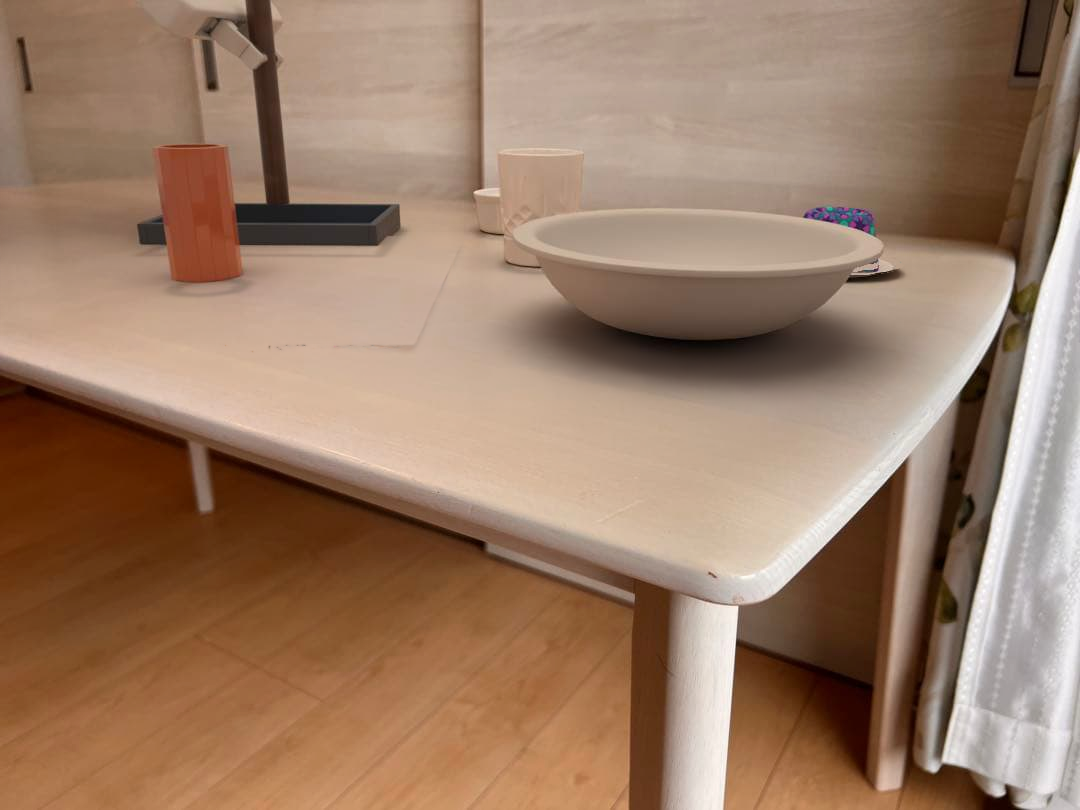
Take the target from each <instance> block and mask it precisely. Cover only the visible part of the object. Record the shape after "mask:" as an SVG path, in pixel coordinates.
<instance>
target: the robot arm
mask: <svg viewBox="0 0 1080 810" xmlns="http://www.w3.org/2000/svg"><path fill="white" fill-rule="evenodd" d="M136 2H137V3H138V4H139V5H140V6H141V7H142V8H143V10H144V11H145V12H146V13H147V15H149V17H150V18H151V19H152V20H153V21H154V22H155V23H156V24H157V25H158V26H159V27H160V28H161V29H162V30H164V31H165V32H166V33H168V34H169V35H171V36H172V37H174V38H179V39H191V40H192V39H193V40H205V41H215V43H217V44H218V45H219V46H221V48H223V49H224V50H226V51H228V52H229V53H231V54H232V55H234V56H235V57H236V58H239V60H241V61H242V62H243V63H244V65H245V66H247V68H248V69H250V70H252V69H261V68H262V67H263V65H264V64H265V63H266V62H267V60H268V58H267V55H266V54H265V53H264V52H262V50H261V49H260V48H259V47H258V46H257V45H255V44H252V43H251V42H250V41H249V33H248V23H247V14H246V4H245V0H136ZM271 12H272V22H273V33H274V36H276V34H277V33H278V32H279V30H280V29H281V27H282V26H283V24H284V20H283V17H282V15H281V13H280V12H279V10H278V9H277V7H276V5H274V4H273V2H272V1H271ZM275 54H276V64H277V70H278V69H280V67H281V66H282V64H283V63H284V61H285V58H284V55H283V54H282V53H281V52H280V51H279V50H278V49H277V48H276V47H275Z"/></svg>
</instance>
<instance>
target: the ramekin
mask: <svg viewBox="0 0 1080 810" xmlns="http://www.w3.org/2000/svg"><path fill="white" fill-rule="evenodd" d="M473 198H474V201H475V207H476V217H477V223H478V228H479V230H481V231H482V232H485V233H488V234H497V235H505V234H504V233H503V229H502V222H501V217H502V213H501V207H500V189H499V187H490V188H482V189H477V190H475V191H473Z"/></svg>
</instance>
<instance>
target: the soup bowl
mask: <svg viewBox="0 0 1080 810" xmlns="http://www.w3.org/2000/svg"><path fill="white" fill-rule="evenodd" d="M512 239H513V242H514V244H515V245H516V246H517V247H519V248H520V249H522V250H524V251H526V252H528V253H530V254H533V255H535V256H536V258H537V260H538V263H539V265H540V266H541V267H540V268H541V270H542V272H543V273H544V275H545V277H546V278H547V280H548V281H549V282H550V284H551V286H553V288H554V289H555V290H556V291H557V292H558V294H560V295H561V296H562V297H563V298H564V299H565V300H566V301H567V302H569V303H570V304H571V305H572V306H573V307H574V308H576V310H578V311H580V312H581V313H583V314H584V315H586V316H588V317H589V318H592V319H594V320H596V321H597V322H600V323H603V324H604V325H607V326H610V327H613V328H616V329H619V330H622V331H626V332H630V333H634V334H638V335H643V336H650V337H654V338H655V337H656V338H662V339H673V340H688V341H689V340H691V341H693V340H694V341H718V340H719V341H720V340H732V339H741V338H748V337H754V336H759V335H764V334H768V333H771V332H775V331H778V330H781V329H784V328H786V327H789V326H791V325H793V324H795V323H798V322H799V321H800V320H803V319H804V318H807V317H808V316H809V315H811V314H813V313H815V312H816V311H817V310H818V309H820V308H821V307H822V306H823V305H825V304H826V303H827V302H829V300H831V298H833V297H834V296H835V295H836V294H837V293H838V291H839V290H840V289H841V288H842V287H843V286H844V284H845V283H846V282H847V280H848V279H849V278H850V277H849V276H850V275H851V273H852V272H853V270H854V269H855V268H857V267H861V266H864V265H867V264H870V263H872V262H874V261H876V260H877V259H879V258H880V257H881V256H882V255H883V254H884V252H885V246H884V244H883V241H881V239H879V238H878V237H877V236H876V237H874V236H872V235H870V234H868V233H866V232H863V231H860V230H857V229H854V228H851V227H847V226H843V225H839V224H835V223H830V222H825V221H819V220H814V219H807V218H803V217H800V216H793V215H784V214H778V213H777V214H776V213H769V212H768V213H767V212H758V211H757V212H756V211H743V210H730V209H711V208H710V209H709V208H682V207H681V208H678V207H676V208H675V207H673V208H671V207H668V208H667V207H654V208H653V207H649V208H647V207H645V208H615V209H599V210H598V209H597V210H587V211H580V212H575V213H567V214H560V215H554V216H549V217H544V218H540V219H536V220H533V221H530V222H527V223H524V224H522V225H520V226H518V227H517V228H516V229H515V230H514V231H513V234H512Z"/></svg>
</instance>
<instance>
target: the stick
mask: <svg viewBox="0 0 1080 810" xmlns="http://www.w3.org/2000/svg"><path fill="white" fill-rule="evenodd" d="M271 2H272V1H271V0H245V4H246V14H247V23H248V33H249V41H250V42H251V43H252V44H255V45H257V46H258V47H259V48H260V49H261V50H262V52H264V53H265V54H266V55H267V58H268V60H267V62H266V63H265V64H264V65H263V67H262V68H261V69H251V70H252V80H253V89H254V97H255V99H254V100H255V107H256V108H255V109H256V118H257V127H258V137H259V138H258V139H259V146H260V155H261V156H260V157H261V163H262V164H261V166H262V174H263V175H262V176H263V185H264V195H265V203H267V204H270V205H282V204H288V203H291V202H290V201H291V200H290V191H289V181H288V180H289V179H288V171H287V159H286V150H285V149H286V148H285V141H284V140H285V138H284V129H283V127H284V126H283V117H282V108H281V95H280V87H279V86H280V85H279V76H278V69H277V64H276V54H275V48H276V45H275V35H274V33H273V22H272V12H271Z"/></svg>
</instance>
